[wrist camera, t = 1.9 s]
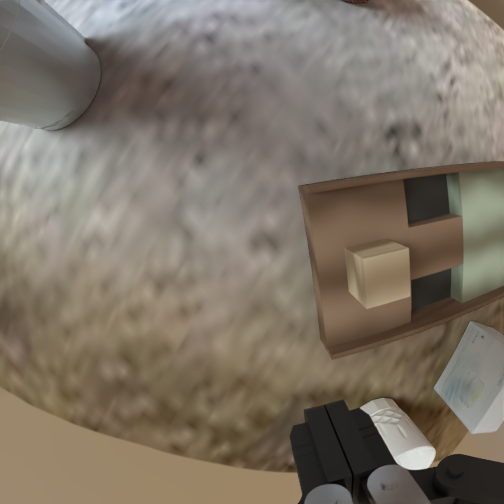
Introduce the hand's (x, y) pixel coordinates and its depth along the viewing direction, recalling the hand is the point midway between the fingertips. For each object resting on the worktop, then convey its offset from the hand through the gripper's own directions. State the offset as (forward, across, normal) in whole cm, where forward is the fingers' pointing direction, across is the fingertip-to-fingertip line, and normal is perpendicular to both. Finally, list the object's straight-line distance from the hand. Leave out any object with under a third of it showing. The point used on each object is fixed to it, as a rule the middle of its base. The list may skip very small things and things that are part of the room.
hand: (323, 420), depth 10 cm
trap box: (+18, -16, 0) cm, 25 cm away
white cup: (+19, -10, +21) cm, 30 cm away
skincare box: (+19, -24, +17) cm, 35 cm away
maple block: (+16, -8, 0) cm, 18 cm away
